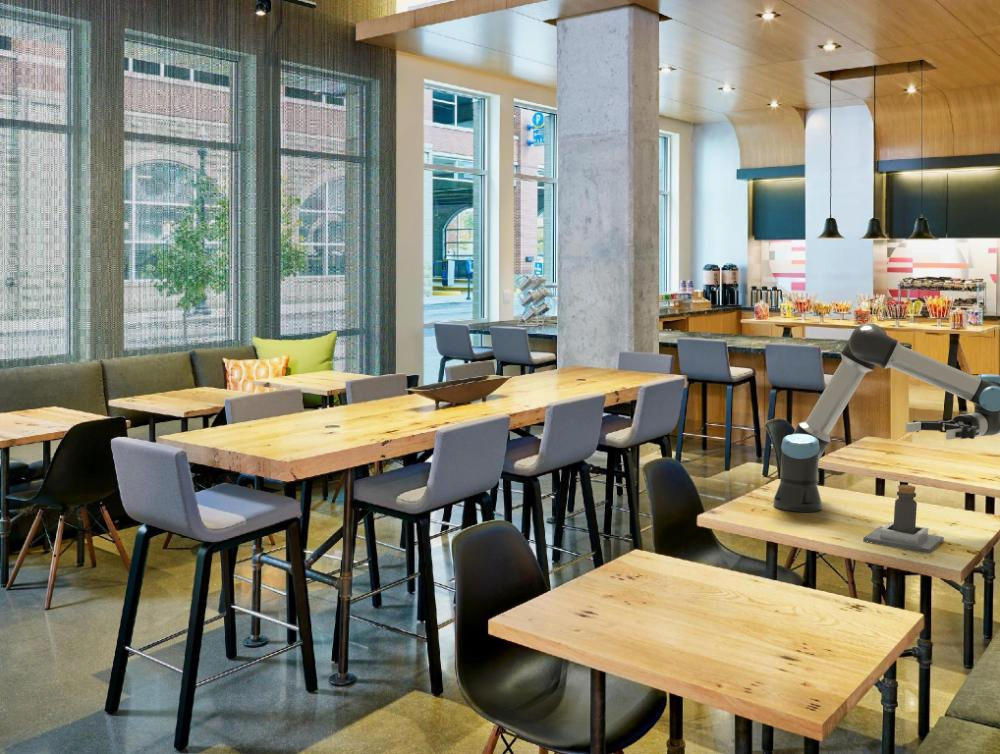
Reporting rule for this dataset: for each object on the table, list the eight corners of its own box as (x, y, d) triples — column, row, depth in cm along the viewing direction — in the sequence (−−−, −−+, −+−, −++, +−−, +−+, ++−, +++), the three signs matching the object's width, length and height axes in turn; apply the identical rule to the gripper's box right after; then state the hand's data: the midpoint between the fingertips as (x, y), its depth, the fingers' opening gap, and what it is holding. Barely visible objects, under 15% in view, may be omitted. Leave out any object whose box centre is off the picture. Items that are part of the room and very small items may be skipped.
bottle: (890, 537, 284) (893, 486, 282) (896, 533, 288) (899, 483, 287) (911, 541, 280) (914, 489, 278) (917, 536, 285) (920, 486, 283)
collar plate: (863, 541, 284) (864, 528, 283) (880, 530, 296) (881, 518, 296) (928, 553, 273) (929, 540, 272) (943, 540, 285) (944, 528, 285)
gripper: (1006, 444, 296) (964, 450, 285) (931, 431, 317) (890, 437, 306) (1007, 419, 295) (966, 425, 284) (933, 408, 316) (891, 413, 305)
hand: (926, 431), depth 295 cm, fingers open, 13 cm apart
